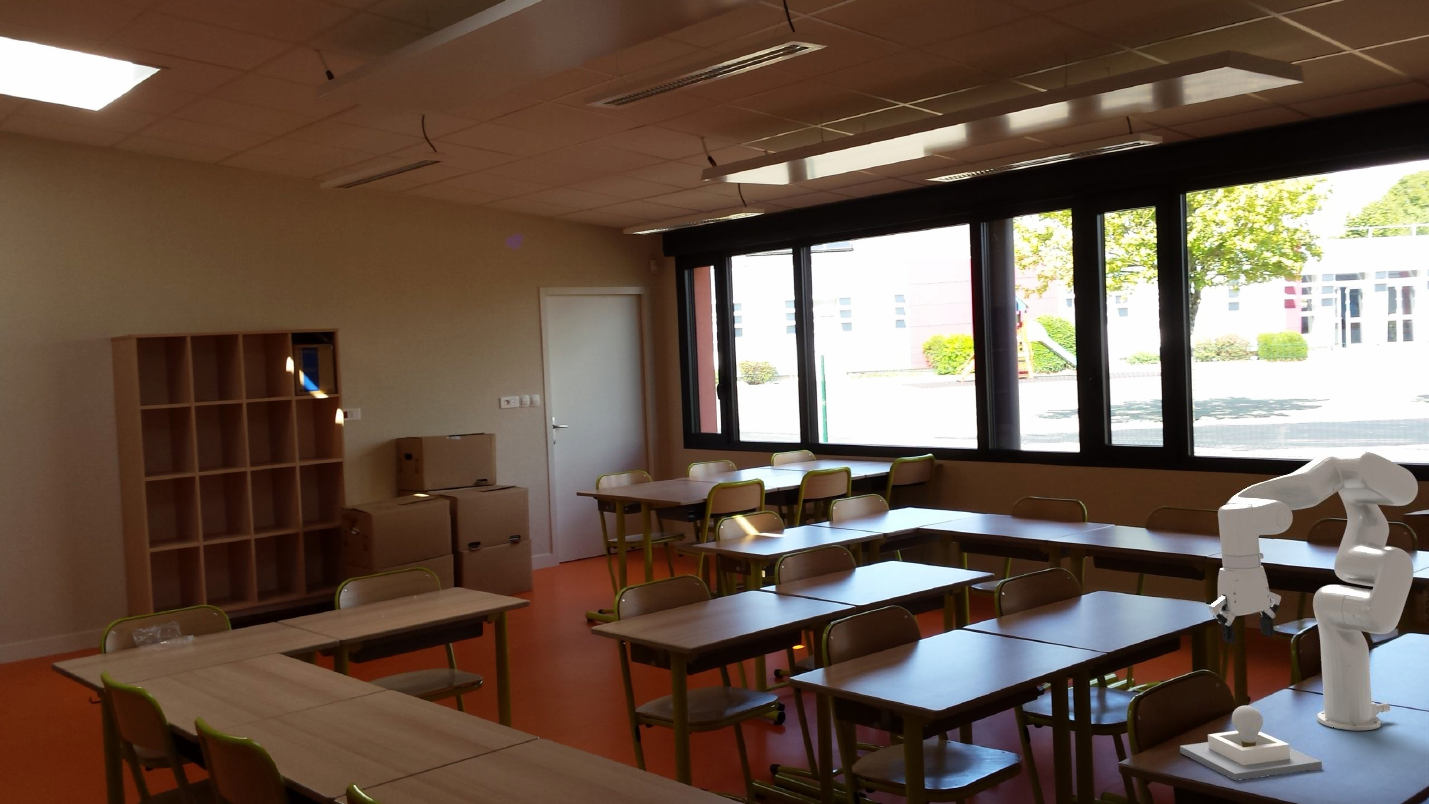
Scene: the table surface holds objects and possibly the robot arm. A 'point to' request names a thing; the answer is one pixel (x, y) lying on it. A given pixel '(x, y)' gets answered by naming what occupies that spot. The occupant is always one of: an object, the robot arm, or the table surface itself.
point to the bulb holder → (1249, 756)
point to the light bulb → (1247, 724)
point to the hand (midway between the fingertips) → (1248, 638)
